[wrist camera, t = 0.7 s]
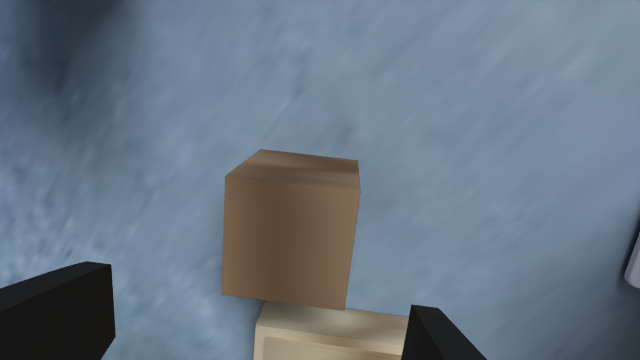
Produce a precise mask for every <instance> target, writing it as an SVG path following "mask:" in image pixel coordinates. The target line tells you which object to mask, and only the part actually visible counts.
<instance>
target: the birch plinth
mask: <svg viewBox="0 0 640 360" xmlns="http://www.w3.org/2000/svg"><path fill="white" fill-rule="evenodd" d="M408 320H409V317H403V316H396V315H388V314H381V313H374V312H366V311H359V310H352V309H345V310H344V311H339V310H332V309H325V308H318V307H310V306H303V305H296V304H288V303H281V302H274V301H266V300H265V303H264V305H263V308H262V310H261V313H260V316H259V318H258V321H257V323H256V329H255V345H254V360H401V356H402V351H403V346H404V341H405V336H406V331H407V325H408Z"/></svg>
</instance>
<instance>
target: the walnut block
mask: <svg viewBox="0 0 640 360" xmlns="http://www.w3.org/2000/svg"><path fill="white" fill-rule="evenodd" d="M360 193H361V191H360V180H359V170H358V160H349V159H341V158H332V157H323V156H315V155H306V154H297V153H289V152H280V151H271V150H263V149H260V150H259V151H258V152H256V153H255V154H254V155H252V156H251V157H250V158H248V159H247V160H246V161H244V162H243V163H242V164H240V165H239V166H238V167H236V168H235V169H234V170H232V171H231V172H230V173H228V174H227V175H226V176H225V201H224V234H223V266H222V294H223V295H230V296H237V297H245V298H252V299H259V300H266V301H274V302H281V303H288V304H296V305H303V306H310V307H318V308H325V309H332V310H339V311H344V310H345V303H346V295H347V288H348V281H349V273H350V266H351V259H352V251H353V244H354V237H355V229H356V222H357V215H358V207H359V200H360Z"/></svg>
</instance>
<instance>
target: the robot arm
mask: <svg viewBox="0 0 640 360" xmlns="http://www.w3.org/2000/svg"><path fill="white" fill-rule="evenodd" d="M624 278H625V280H626V281H627V282H628V283H629V284H630V285H632V286H633V287H636V288H640V233H639V236H638V239H637V241H636V244H635V247H634V250H633V252H632V255H631V258H630V261H629V263H628V266H627V269H626V271H625V276H624ZM115 337H116V335H115V319H114V302H113V286H112V270H111V264H103V263H96V262H88V261H86V262H82V263H78V264H74V265H71V266H67V267H64V268H60V269H57V270H54V271H51V272H48V273H45V274H42V275H39V276H36V277H33V278H30V279H27V280H24V281H21V282H18V283H15V284H12V285H9V286H6V287H4V288H1V289H0V360H101V358H102V357H103V355H104V354H105V352H106V351H107V349H108V348H109V346H110V344H111V343H112V341H113V340H114V338H115ZM401 360H487V359H486V358H485V357H484V356H483V355H482V354H481V353H480V352H479V351H478V350H477V349H476V348H475V346H474V345H473V344H472V343H471V342H470V341H469V340H468V339H467V338H466V337H465V336H464V335H463V334H462V333H461V331H460V330H459V329H458V328H457V327H456V326H455V325H454V324H453V323H452V322H451V321H450V320H449V319H448V317H447V316H446V315H445V314H444V313H443V312H442V311H441V310H440V309H439V308H434V307H426V306H419V305H411V310H410V315H409V320H408V325H407V331H406V336H405V341H404V346H403V351H402V356H401Z"/></svg>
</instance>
